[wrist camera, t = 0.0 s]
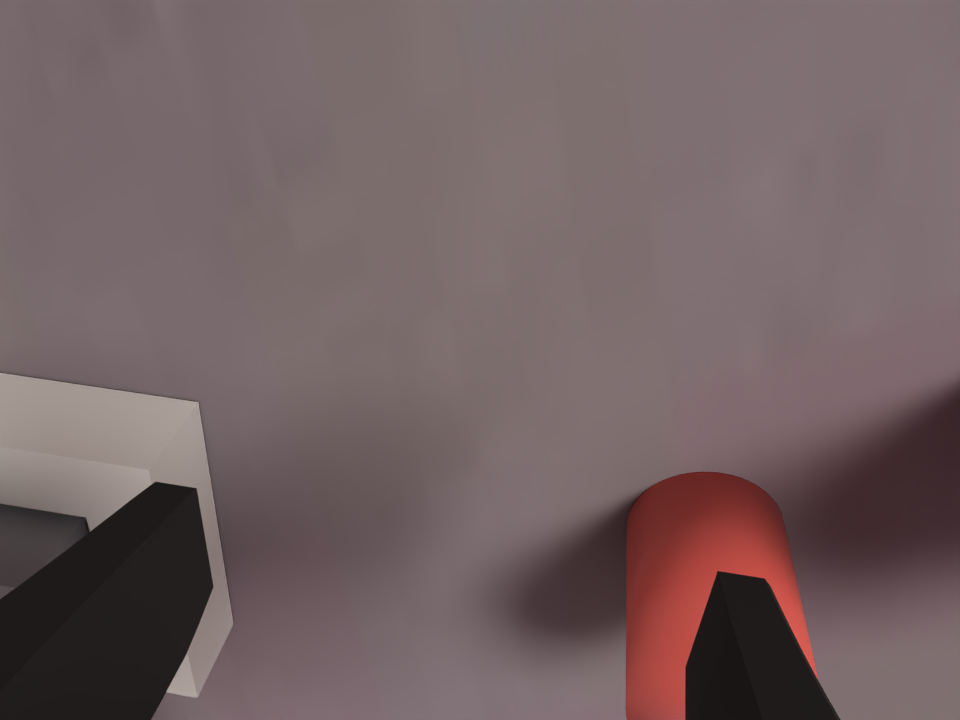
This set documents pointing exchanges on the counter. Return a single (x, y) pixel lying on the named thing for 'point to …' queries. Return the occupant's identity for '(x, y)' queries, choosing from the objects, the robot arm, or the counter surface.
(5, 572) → the switch
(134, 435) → the box
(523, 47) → the counter surface
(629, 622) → the cap
